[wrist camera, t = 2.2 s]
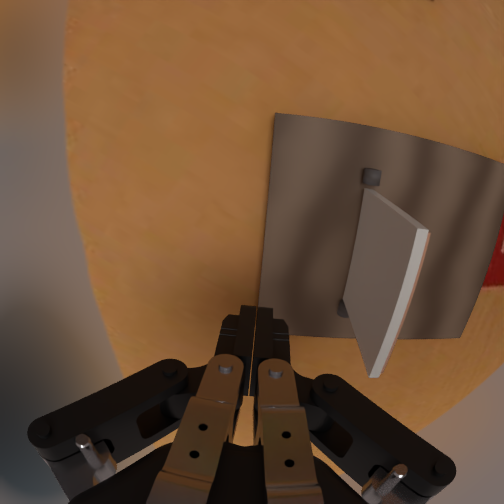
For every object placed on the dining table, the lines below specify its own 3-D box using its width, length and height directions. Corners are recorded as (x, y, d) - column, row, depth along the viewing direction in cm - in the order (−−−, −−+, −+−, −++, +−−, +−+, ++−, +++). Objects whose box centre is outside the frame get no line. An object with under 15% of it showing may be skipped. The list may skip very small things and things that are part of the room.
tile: (364, 188, 23) (375, 189, 23) (342, 298, 27) (353, 299, 27) (417, 228, 14) (433, 230, 14) (368, 377, 18) (382, 377, 17)
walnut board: (503, 164, 22) (520, 169, 20) (454, 330, 30) (464, 345, 27) (275, 113, 23) (275, 111, 20) (256, 323, 31) (254, 340, 28)
